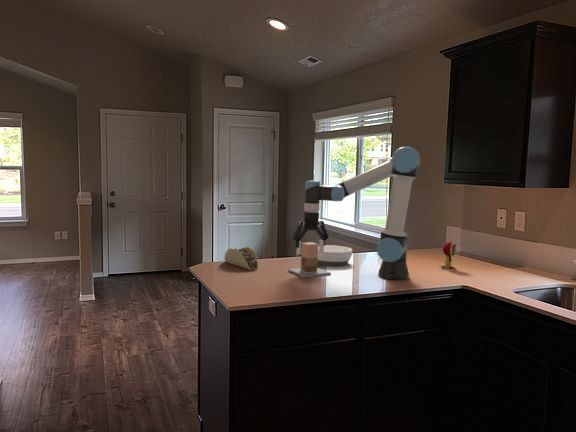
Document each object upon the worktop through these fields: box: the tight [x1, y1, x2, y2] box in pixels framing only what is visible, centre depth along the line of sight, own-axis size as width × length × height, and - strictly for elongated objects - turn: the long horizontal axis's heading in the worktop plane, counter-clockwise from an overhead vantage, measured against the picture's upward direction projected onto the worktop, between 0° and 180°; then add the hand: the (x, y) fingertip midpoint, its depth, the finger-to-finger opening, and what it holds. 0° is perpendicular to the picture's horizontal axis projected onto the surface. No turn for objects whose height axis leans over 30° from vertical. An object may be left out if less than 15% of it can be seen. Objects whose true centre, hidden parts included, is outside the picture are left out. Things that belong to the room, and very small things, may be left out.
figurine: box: [438, 241, 457, 272], centre depth 274 cm, size 9×10×15 cm
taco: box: [223, 246, 259, 272], centre depth 264 cm, size 10×27×10 cm, turn 38°
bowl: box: [317, 244, 353, 267], centre depth 280 cm, size 22×22×8 cm
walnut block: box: [300, 256, 318, 272], centre depth 252 cm, size 6×6×7 cm
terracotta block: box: [301, 241, 319, 259], centre depth 252 cm, size 6×6×7 cm
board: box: [287, 267, 332, 279], centre depth 253 cm, size 15×16×1 cm
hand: (310, 253), depth 252 cm, fingers open, 13 cm apart
